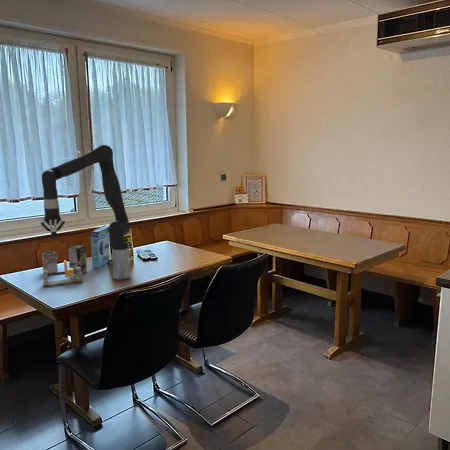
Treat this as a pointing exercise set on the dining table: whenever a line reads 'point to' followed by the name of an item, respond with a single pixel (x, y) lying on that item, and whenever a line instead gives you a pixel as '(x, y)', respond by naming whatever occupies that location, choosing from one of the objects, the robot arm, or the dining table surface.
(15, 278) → the dining table surface
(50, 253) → the beverage can
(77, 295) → the dining table surface
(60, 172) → the robot arm
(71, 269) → the sleeve
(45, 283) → the cord rig
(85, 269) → the coffee box
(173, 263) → the dining table surface
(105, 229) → the light blue box
